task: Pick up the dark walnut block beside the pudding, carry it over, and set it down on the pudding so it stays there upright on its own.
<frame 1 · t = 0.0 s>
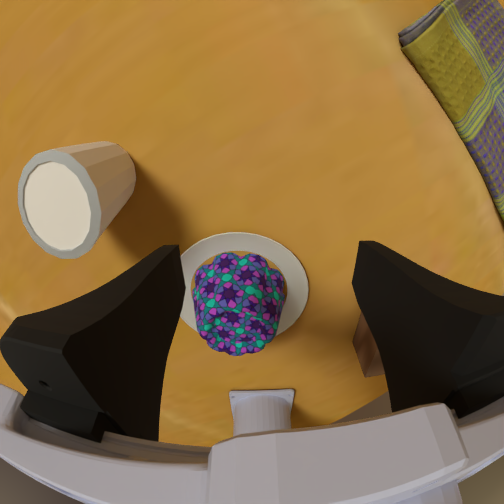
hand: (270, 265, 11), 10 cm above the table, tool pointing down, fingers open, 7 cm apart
dish towel: (500, 99, 15), on the table
pudding: (238, 289, 25), on the table
walnut block: (376, 324, 27), on the table
shot glass: (105, 175, 19), on the table
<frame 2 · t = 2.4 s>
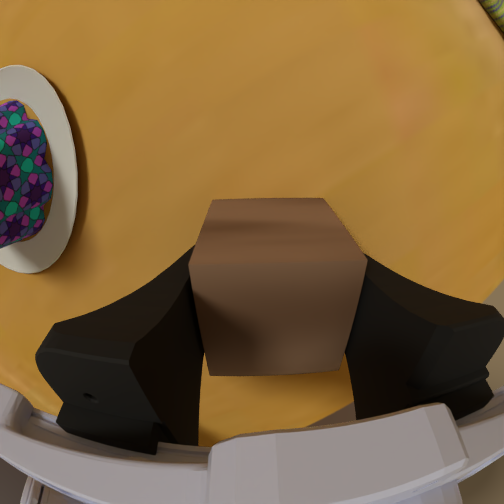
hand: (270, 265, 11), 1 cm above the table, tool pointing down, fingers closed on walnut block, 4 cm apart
pudding: (9, 171, 10), on the table
walnut block: (268, 248, 12), on the table, touching gripper
when the fingers open (7 cm above the table, at t = 5.2 s): walnut block drops 1 cm, resting on pudding.
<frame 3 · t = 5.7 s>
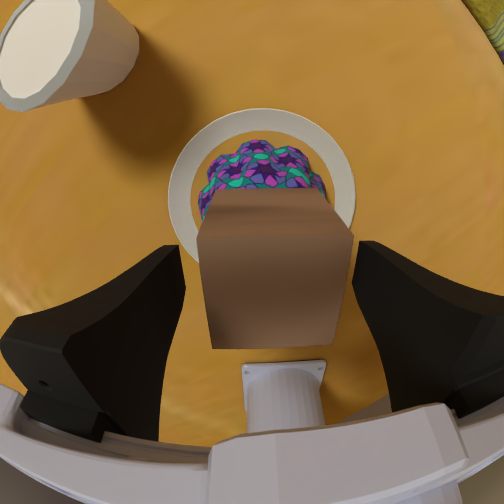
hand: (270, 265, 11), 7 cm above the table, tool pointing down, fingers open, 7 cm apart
pudding: (262, 200, 18), on the table, touching walnut block
walnut block: (266, 234, 13), point 5 cm above the table, touching pudding
shot glass: (102, 55, 12), on the table
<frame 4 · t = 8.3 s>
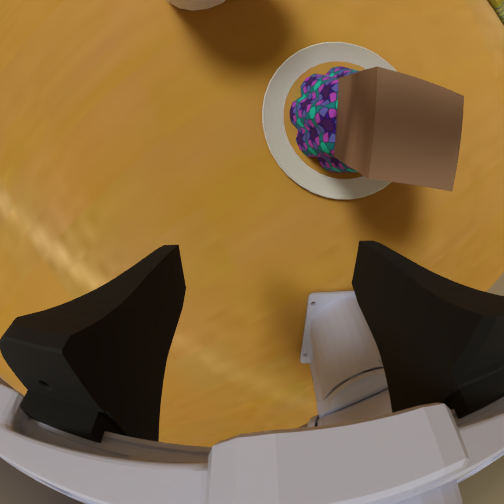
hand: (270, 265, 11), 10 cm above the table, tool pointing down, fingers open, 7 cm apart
pudding: (343, 119, 18), on the table, touching walnut block
walnut block: (374, 123, 13), point 5 cm above the table, touching pudding
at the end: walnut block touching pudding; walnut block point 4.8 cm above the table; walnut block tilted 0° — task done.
